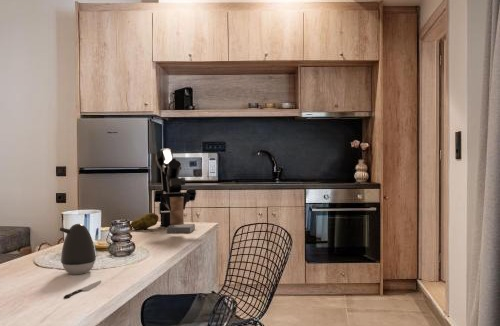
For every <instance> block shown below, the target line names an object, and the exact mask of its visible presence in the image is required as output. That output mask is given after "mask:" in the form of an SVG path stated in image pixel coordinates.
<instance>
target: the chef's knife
mask: <svg viewBox="0 0 500 326" xmlns="http://www.w3.org/2000/svg"><path fill="white" fill-rule="evenodd" d="M100 284H102V280H98V281H95V282H93V283H91V284H88V285H85V286H84V287H82V288H81V287H80V288H79V289H76V290H74V291H72V292H70V293H68V294H65V295H64V296H63V299H69V298H71V297H73V296H74V295H76V294H78V293H81V292H90V291H91V290H94V289H95V288H97V287H98V286H100Z"/></svg>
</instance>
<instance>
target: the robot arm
mask: <svg viewBox="0 0 500 326" xmlns="http://www.w3.org/2000/svg"><path fill="white" fill-rule="evenodd" d="M173 154H174V153H173V152H172V149H171V148H161V149H160V150H159V151H157V152H156V153H155V162H156V166H157V167H158V169H160V176H161V177H160V178H161V189H155V190H154V192H153V202H154V203H158V214H159V215H160V225H159V227H168V226H170V210H171V208H170V197H183V210H184V211H185V209H186V205H187V203H189V202H193V201H195V200H196V196H197V191H196V190H197V189H196V188H187V189H186V192H185V191H184V192H182V189H183V187H182V186H185V185H186V178H185V177H180V178H179V176H180V172H181V170H182V166H181V164H182V163H181V161H179V160H177V159H176V158H174V155H173Z"/></svg>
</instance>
